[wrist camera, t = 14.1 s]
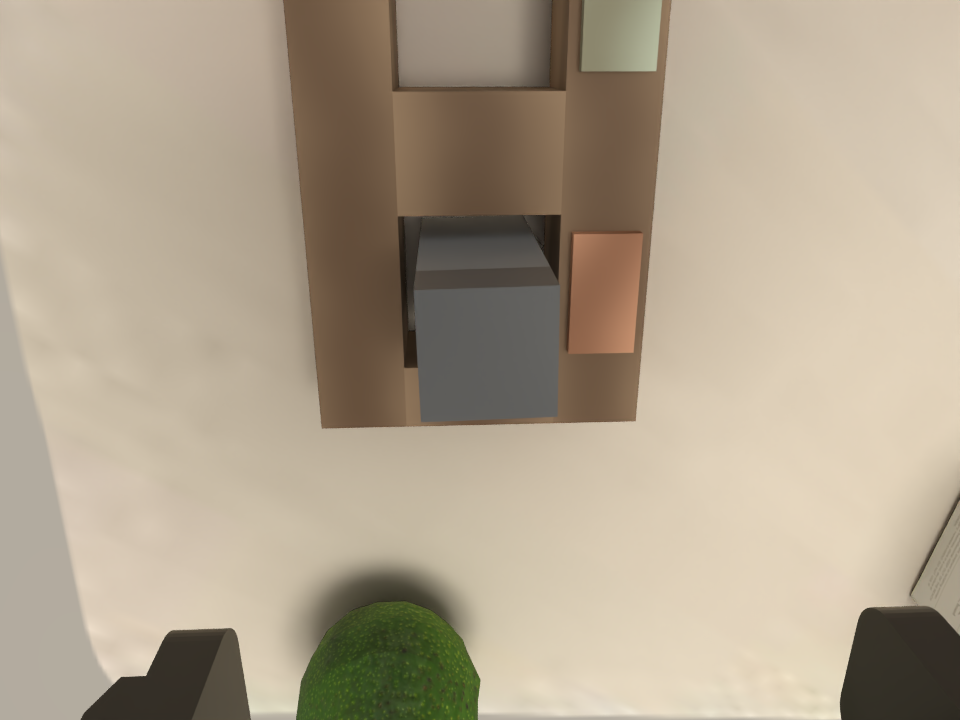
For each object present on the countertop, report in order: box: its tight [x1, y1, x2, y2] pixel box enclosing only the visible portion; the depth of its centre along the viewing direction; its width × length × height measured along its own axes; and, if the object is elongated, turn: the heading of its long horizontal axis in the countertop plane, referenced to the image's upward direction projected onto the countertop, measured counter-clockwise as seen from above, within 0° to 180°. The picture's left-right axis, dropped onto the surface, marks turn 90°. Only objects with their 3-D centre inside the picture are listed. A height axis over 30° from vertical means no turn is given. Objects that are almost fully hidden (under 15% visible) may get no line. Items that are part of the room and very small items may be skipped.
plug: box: [414, 215, 560, 422], centre depth 26 cm, size 4×4×10 cm
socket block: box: [283, 0, 671, 428], centre depth 27 cm, size 12×20×4 cm, turn 0°
